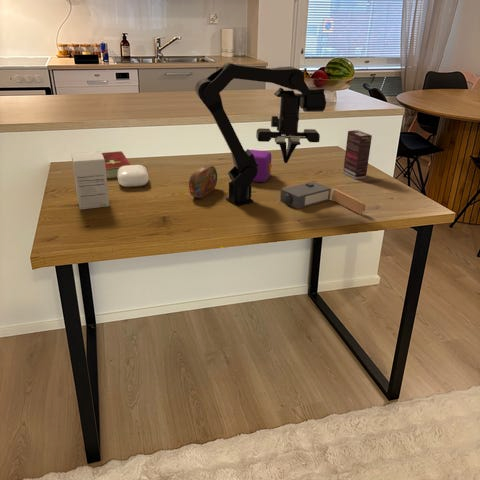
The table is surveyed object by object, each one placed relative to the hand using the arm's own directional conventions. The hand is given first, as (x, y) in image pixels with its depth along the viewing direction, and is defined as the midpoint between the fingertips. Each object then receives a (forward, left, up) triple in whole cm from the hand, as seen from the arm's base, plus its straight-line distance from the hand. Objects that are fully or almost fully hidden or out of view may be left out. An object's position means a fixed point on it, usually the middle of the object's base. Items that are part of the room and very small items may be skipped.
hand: (285, 162), depth 149 cm
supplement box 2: (+38, +4, -12) cm, 40 cm away
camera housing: (+5, -5, -12) cm, 14 cm away
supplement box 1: (-52, +29, -12) cm, 61 cm away
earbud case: (-34, +40, -12) cm, 54 cm away
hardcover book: (-34, +58, -13) cm, 69 cm away
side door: (+12, -17, -11) cm, 23 cm away
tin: (-19, +18, -12) cm, 29 cm away
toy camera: (+6, +22, -12) cm, 25 cm away
